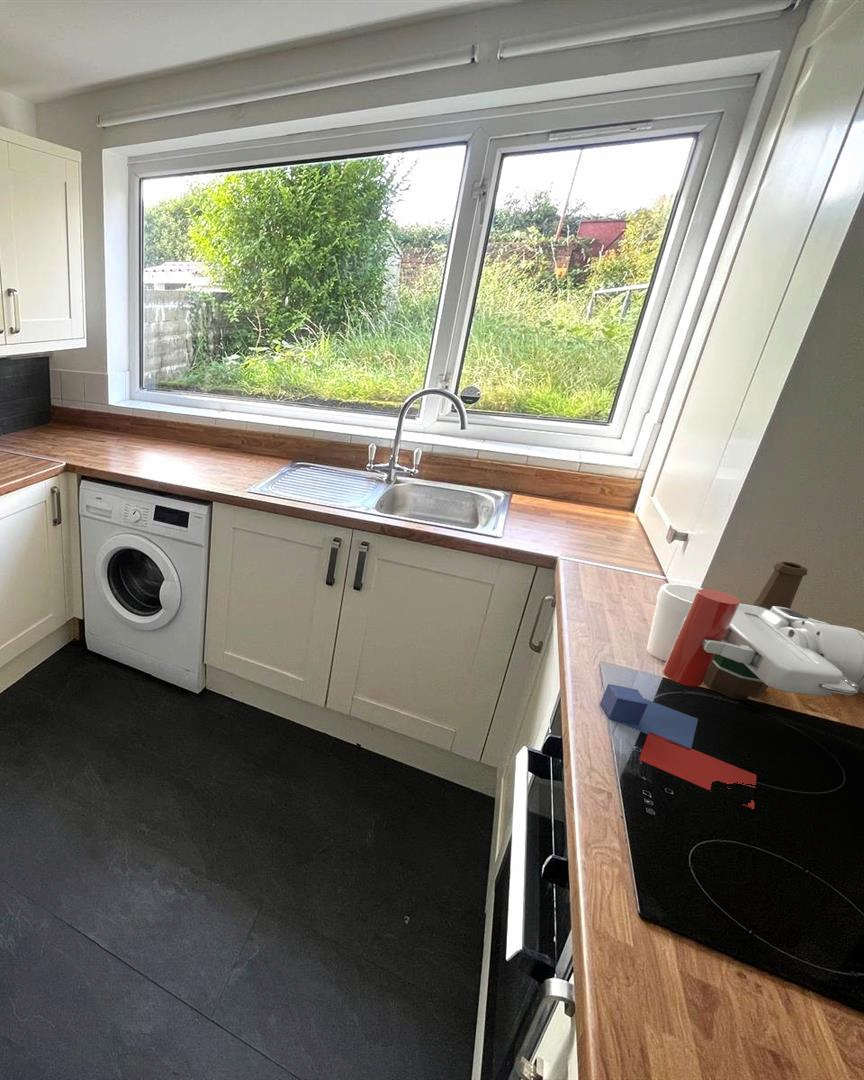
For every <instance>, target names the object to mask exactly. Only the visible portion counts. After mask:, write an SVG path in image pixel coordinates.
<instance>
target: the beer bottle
mask: <svg viewBox="0 0 864 1080" xmlns="http://www.w3.org/2000/svg"><path fill="white" fill-rule="evenodd" d="M772 568H773V571H772V573H771V575H770V576H769V578H768V580H767V582H766V583H765V585H764V587H763V589H762V590H761V592H760V593H759V595H758V597H757V598H756V599H755V600H754V602H753V603H752V604H751V605H753V606H758V607H762V608H766V609H768V610H771V608H772V607H773V606H778V607H784V608H788V609H791V607H792V604H793V602H794V599H795V597H796V594H797V592H798V589H799V587H800V585H801V582H802V580H803V577H805V576H807V575H808V569H807V568H806V567H805V566H803V565H801V564H798V563H795V562H792V561H791V562H790V561H778V562H776V563H775V565H773V566H772ZM703 682H704V684H705V685H706V686H707V687H708V688H709V689H710V690H713V691H715V692H717V693H719V694H721V695H722V696H725V697H728V698H729V699H734V700H739V701H744V702H748V699H749V698H748V697H752V698H757V697H759V696H761V695H764V694H765V693H766V691H767V690H768V688H769V686H767V685H766V684H765V683H764V682H763V681H762V680H761V679H759V678H758V677H757V676H756V675H755V674H754V673H753V672H752V671H751V670H750V669H749V668H748V667H747V666H746V665H745V664H743V663H740V662H737V661H734V660H731V659H729V658H726V657H724V656H721V655H719V654H716V655H715V657H714V659H713V661H712V663H711V665H710V667H709V669H708V672H707V674H706V676H705V678H704V680H703Z"/></svg>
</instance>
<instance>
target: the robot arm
mask: <svg viewBox="0 0 864 1080" xmlns="http://www.w3.org/2000/svg"><path fill="white" fill-rule="evenodd" d="M684 620H685V618H684V619H683V621H682V623H681V627H682V625H683V623H684ZM700 646H701V647H702V648H703V649H704V650H705V651H706V652H708V653H713V654H719V655H721V656H724V657H726V658H729V659H731V660H734V661H737V662H740V663H743V664H745V665H746V666H747V667H748V668H749V669H750V670H751V671H752V672H753V673H754V674H755V675H756V676H757V677H758V678H759V679H761V680H762V681H763V682H764V683H765V684H766V685H767V686H768V688H772V689H774V690H777V691H780V692H785V693H791V694H798V695H799V694H800V695H807V696H816V697H817V696H818V697H829V696H832V695H833V694H838V695H839V694H840V695H844V696H845V695H846V696H854V695H856V694H858V693H859V692H860V693H863V694H864V631H861V630H860V629H856V628H853V627H850V626H849V627H848V626H843V625H834V624H831V623H829V622H826V621H821V620H817V619H815V618H811V617H808V616H807V615H804V614H802V613H799V612H797V611H795V610H793V609H791V608H790V609H788V608H784V607H778V606H773V607H772V608H771V610H768V609H766V608H762V607H758V606H753V605H752V604H745V603H740V605H739V607H738V609H737V611H736V613H735V615H734V617H733V619H732V622H731V624H730V626H729V628H728V630H727V632H726V634H725V636H724V638H723V640H722V641H721V640H720V639H717V638H710V637H705V638H703V640H702V643H701V644H700Z"/></svg>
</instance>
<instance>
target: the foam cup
mask: <svg viewBox="0 0 864 1080" xmlns="http://www.w3.org/2000/svg"><path fill="white" fill-rule="evenodd" d="M700 589H703V588H702V587H698V586H694V585H691V584H684V583H683V584H682V583H678V582H677V583H676V582H675V583H674V582H673V583H672V582H671V583H669V582H668V583H664V584H662V585H660V588H659V590H658V593H657V594H656V603H655V604H656V605H655V609H654V614H653V618H652V622H651V627H650V631H649V632H650V633H649V635H648V636H649V637H648V642H647V647H646V650H647V652H648V654H650V655H651V656H652V657H654V658H656V659H658V660H660V661H663V662H666V661H667V659H668V656H669V654H670V652H671V650H672V647H673V645H674V643H675V641H676V638H677V636H678V634H679V632H680V629H681V623H682V621H683V619H684V618H686V616H687V614H688V611H689V609H690V607H691V605H692V602H693V600H694V598H695V596H696V593H697V591H698V590H700Z"/></svg>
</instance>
